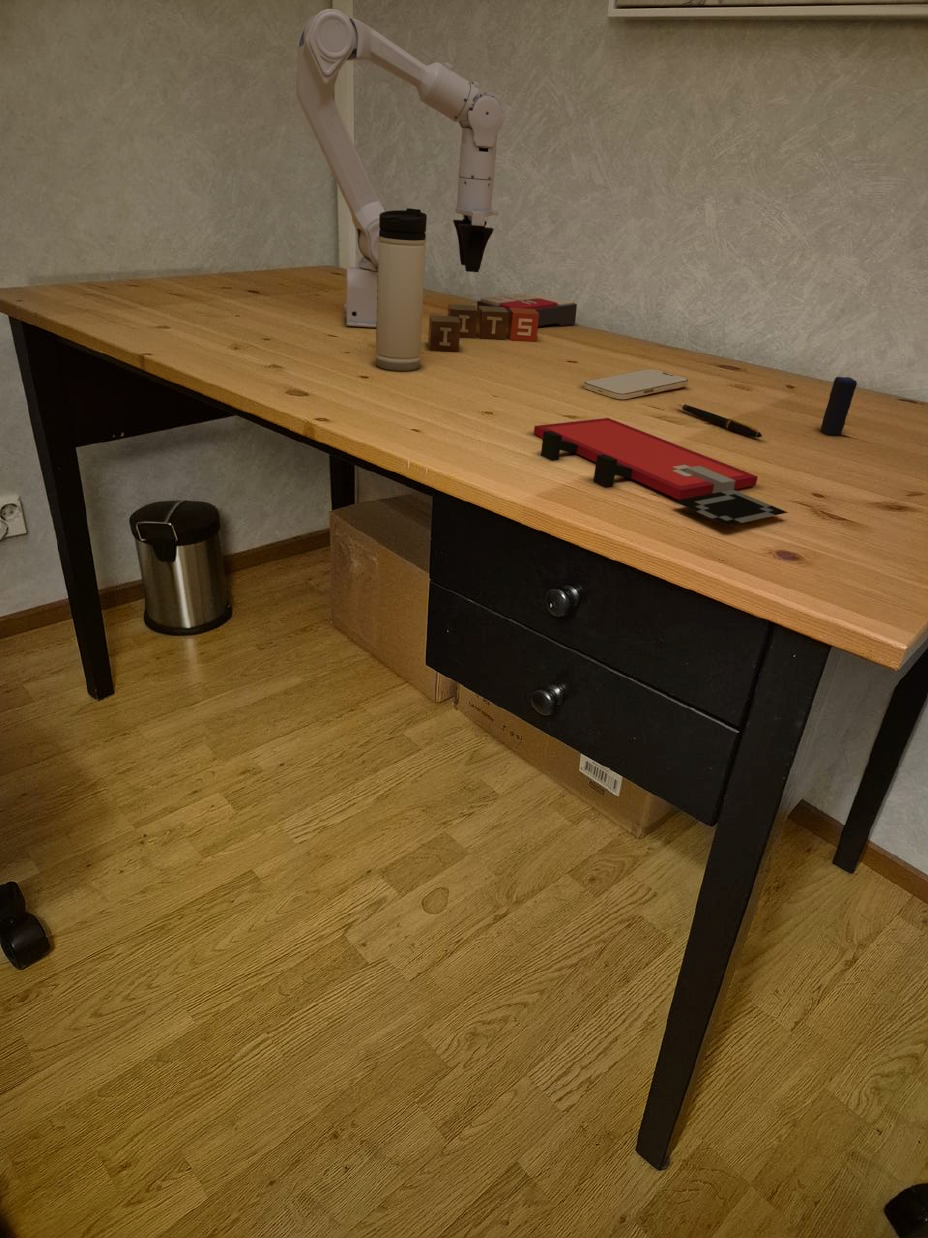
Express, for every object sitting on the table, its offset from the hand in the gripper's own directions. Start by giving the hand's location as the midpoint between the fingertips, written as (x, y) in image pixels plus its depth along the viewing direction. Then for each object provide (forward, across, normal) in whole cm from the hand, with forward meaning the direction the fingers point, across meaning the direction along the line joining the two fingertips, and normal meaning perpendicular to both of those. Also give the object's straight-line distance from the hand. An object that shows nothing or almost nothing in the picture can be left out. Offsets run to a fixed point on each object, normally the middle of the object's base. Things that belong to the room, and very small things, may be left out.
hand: (469, 268), depth 146 cm
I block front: (+9, -19, +6) cm, 22 cm away
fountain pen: (+10, -54, -26) cm, 61 cm away
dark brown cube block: (+9, -8, +2) cm, 12 cm away
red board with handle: (+10, -73, -12) cm, 74 cm away
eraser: (+10, -56, -40) cm, 69 cm away
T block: (+9, -8, -4) cm, 13 cm away
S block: (+9, -8, -9) cm, 15 cm away
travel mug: (+10, -32, +13) cm, 36 cm away
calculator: (+10, +7, -12) cm, 17 cm away
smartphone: (+10, -38, -20) cm, 44 cm away
